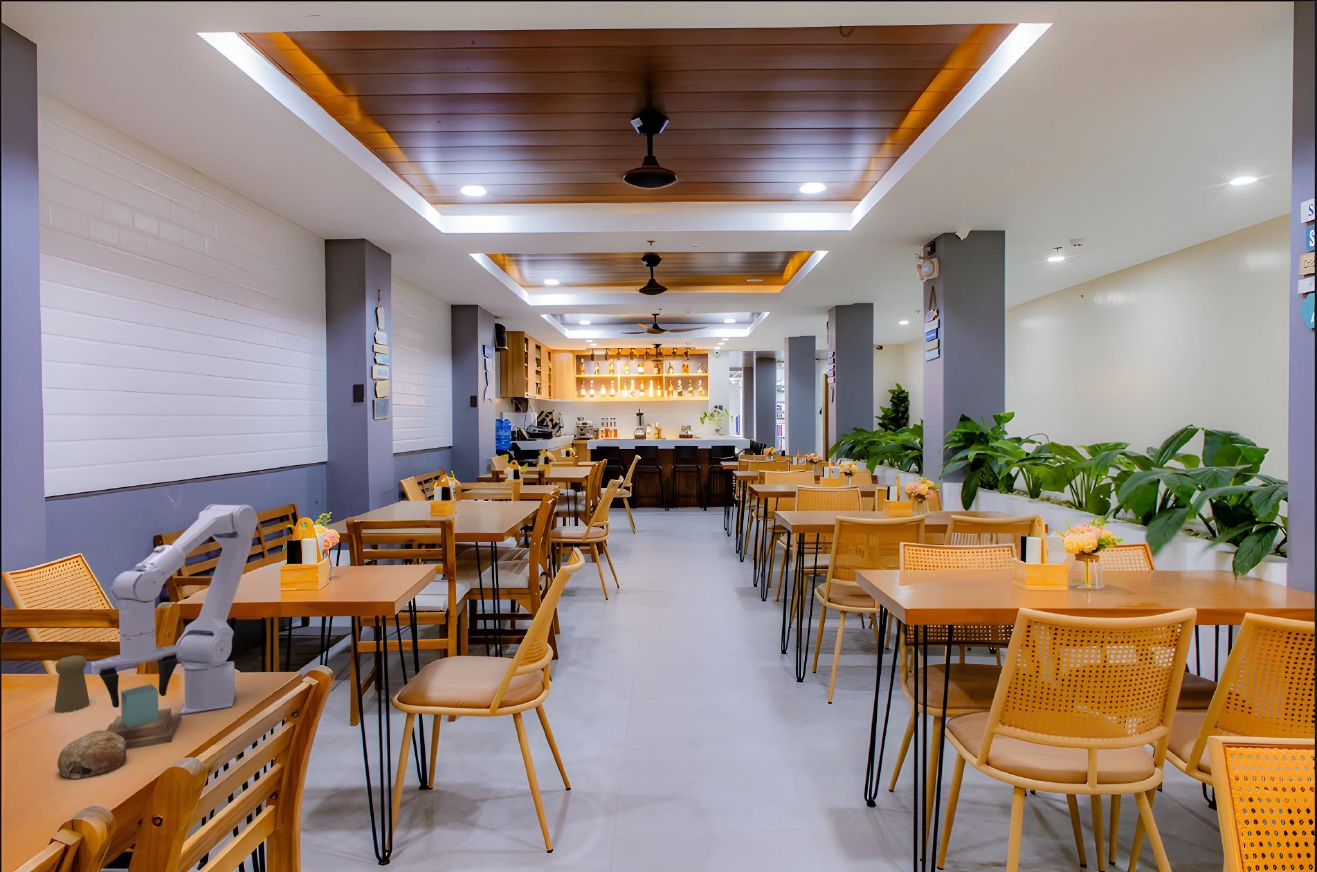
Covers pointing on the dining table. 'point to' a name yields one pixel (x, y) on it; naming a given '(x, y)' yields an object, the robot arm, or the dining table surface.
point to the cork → (71, 684)
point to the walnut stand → (148, 730)
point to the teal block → (139, 705)
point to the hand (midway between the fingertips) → (139, 700)
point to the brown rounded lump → (92, 755)
